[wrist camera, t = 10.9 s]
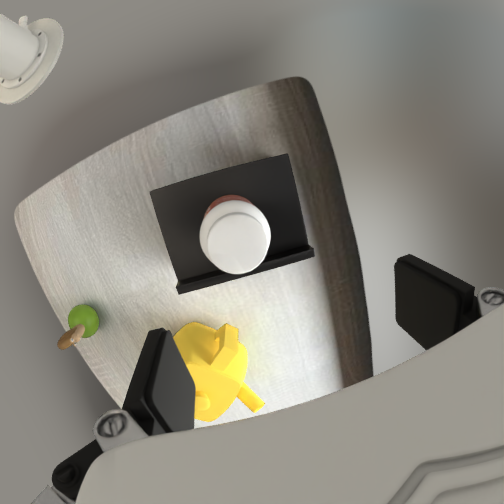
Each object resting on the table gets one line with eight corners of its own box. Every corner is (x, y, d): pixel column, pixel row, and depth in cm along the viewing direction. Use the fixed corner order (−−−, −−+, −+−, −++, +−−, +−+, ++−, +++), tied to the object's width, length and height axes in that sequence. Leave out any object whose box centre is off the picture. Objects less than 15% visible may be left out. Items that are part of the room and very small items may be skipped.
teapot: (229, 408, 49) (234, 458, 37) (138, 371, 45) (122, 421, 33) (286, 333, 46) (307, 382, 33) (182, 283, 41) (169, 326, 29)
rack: (162, 188, 38) (144, 192, 28) (274, 157, 38) (292, 151, 29) (187, 267, 41) (178, 294, 31) (293, 237, 42) (315, 256, 32)
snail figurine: (113, 317, 42) (87, 358, 30) (89, 332, 42) (62, 372, 30) (93, 290, 40) (60, 326, 29) (70, 307, 40) (37, 343, 29)
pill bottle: (199, 199, 31) (189, 210, 20) (254, 190, 31) (272, 197, 21) (209, 252, 32) (204, 289, 22) (261, 243, 33) (282, 276, 22)
